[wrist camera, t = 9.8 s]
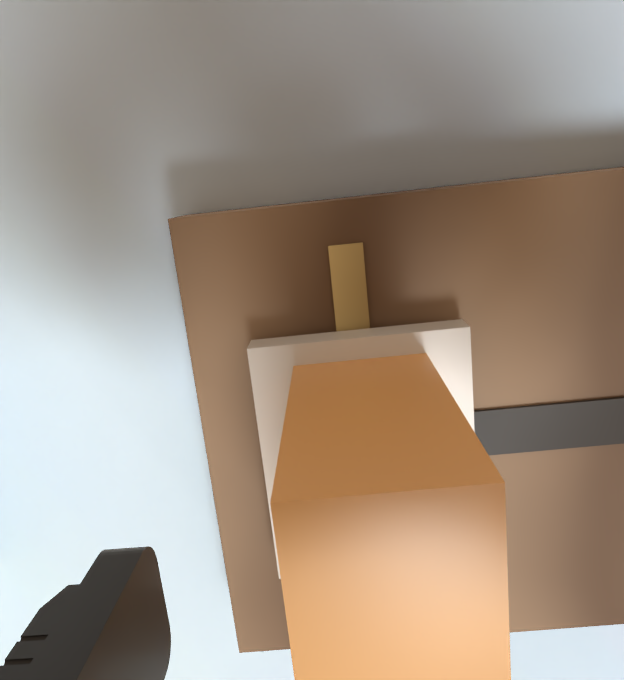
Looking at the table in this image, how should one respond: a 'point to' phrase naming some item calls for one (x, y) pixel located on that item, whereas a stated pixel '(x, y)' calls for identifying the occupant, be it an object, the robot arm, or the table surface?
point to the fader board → (486, 351)
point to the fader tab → (383, 504)
